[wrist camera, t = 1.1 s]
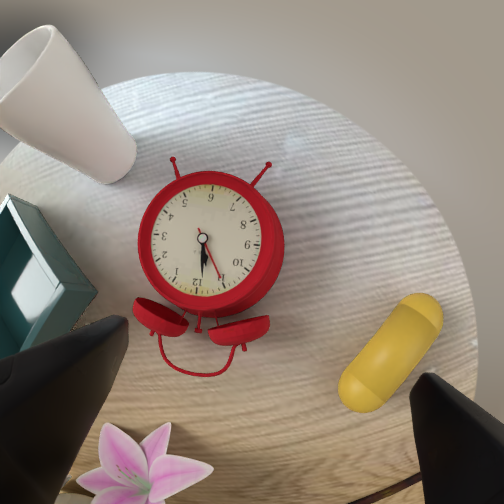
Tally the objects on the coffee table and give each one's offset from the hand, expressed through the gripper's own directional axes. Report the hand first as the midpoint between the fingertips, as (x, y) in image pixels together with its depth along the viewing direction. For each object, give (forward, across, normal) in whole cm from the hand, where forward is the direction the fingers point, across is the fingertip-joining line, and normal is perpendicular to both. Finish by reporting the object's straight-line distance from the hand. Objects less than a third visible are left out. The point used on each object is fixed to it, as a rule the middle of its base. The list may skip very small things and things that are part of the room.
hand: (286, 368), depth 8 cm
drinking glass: (+20, +15, -2) cm, 25 cm away
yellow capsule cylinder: (+11, -10, +6) cm, 16 cm away
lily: (+7, +5, +20) cm, 22 cm away
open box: (+14, +22, +11) cm, 28 cm away
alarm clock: (+15, +4, +4) cm, 16 cm away
